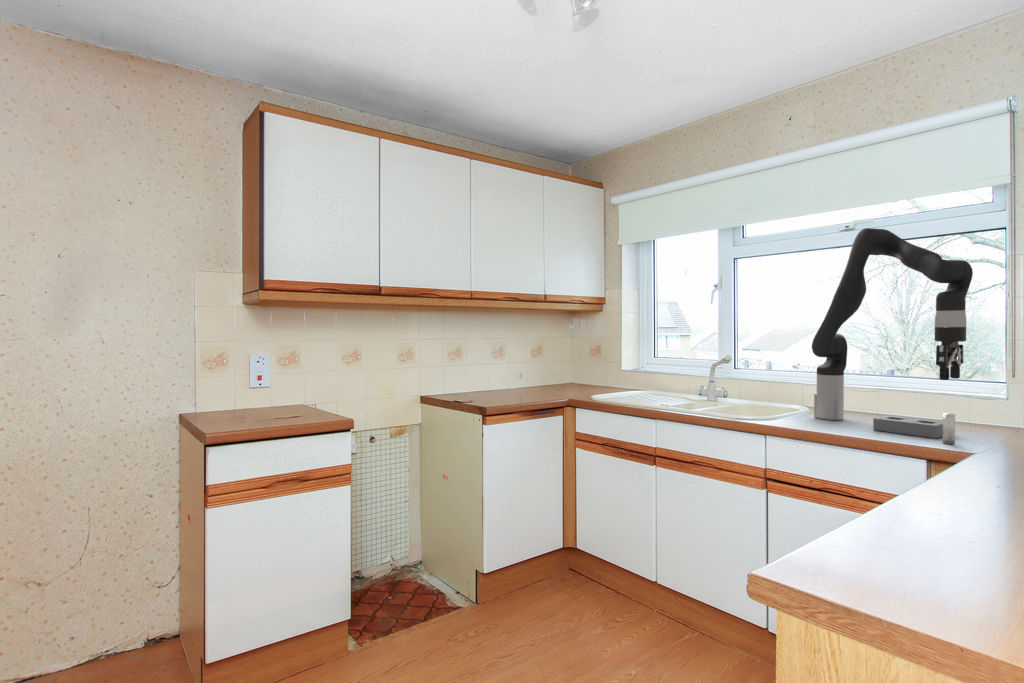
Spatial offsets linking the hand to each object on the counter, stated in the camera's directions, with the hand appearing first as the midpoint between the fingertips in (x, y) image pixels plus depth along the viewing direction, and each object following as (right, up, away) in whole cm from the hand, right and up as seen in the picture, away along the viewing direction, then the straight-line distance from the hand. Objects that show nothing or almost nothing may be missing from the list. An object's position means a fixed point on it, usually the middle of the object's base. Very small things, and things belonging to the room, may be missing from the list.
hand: (949, 379), depth 165 cm
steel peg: (0, -20, 0) cm, 20 cm away
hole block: (+1, -19, +18) cm, 27 cm away
